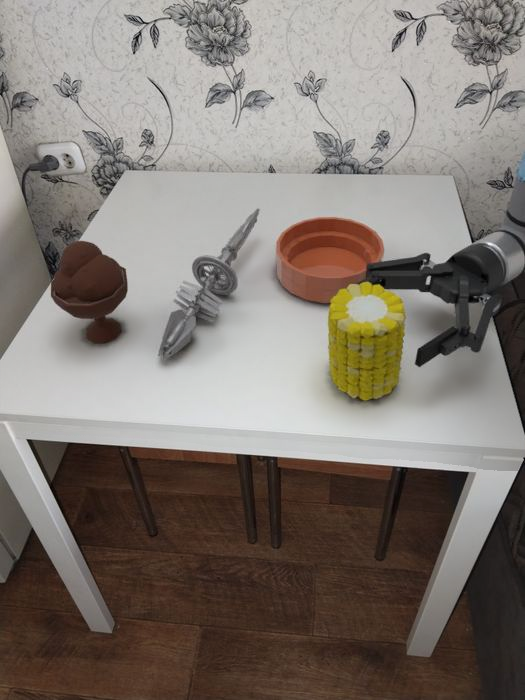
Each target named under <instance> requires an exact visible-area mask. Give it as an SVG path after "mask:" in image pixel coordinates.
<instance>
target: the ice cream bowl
mask: <svg viewBox="0 0 525 700" xmlns="http://www.w3.org/2000/svg"><path fill="white" fill-rule="evenodd" d="M59 265H60V268H58V270H57V271H55V273H54V276H53V279H52V280H51V281H50V297H51V300H53V302H54V303H55V305H56V306H58V307H59V308H60V309H61V310H63V311H64V312H66V313H67V314H69V315H70V316H72V317H74V318H77V319H82V320H93V321H92V322H91V323H89V325H87V327H86V329H85V335H86V336H85V337H86V340H88V341H89V342H91V343H92V344H107V343H110V342H112V341H114V340H116V339H117V338H118V337H119V336H120V334H122V332H123V331H122V324H121V322H119V321H117V320H116V319H115V318H113V317H107V316H108V315H111V314H112V313H113V312H114V311H115V310H116V309H117V308H119V306H120V304H121V303H122V302H123V301H124V300H125V299H126V298H127V295H128V290H129V289H128V288H129V285H128V282H129V281H128V276H127V268H125V267H124V266H121V265H120V264H119V262H118V261H117V260H115V258H113V257H111V256H108V255H107V254H103V251H102V249H101V248H100V247H98V245H96V244H95V243H94V242H90V241H86V240H77V241H74V242H71V243H70V244H68V245H67V246H66V247H65V248H64V249H63V251H62V253H61V257H60V260H59Z"/></svg>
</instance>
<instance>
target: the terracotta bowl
mask: <svg viewBox="0 0 525 700" xmlns="http://www.w3.org/2000/svg"><path fill="white" fill-rule="evenodd" d="M275 245H276V246H275V247H276V277H277V278H278V281H279V282H280V284H281V286H282V287H283V288H285V289H286V291H288V292H289V293H290V294H291V295H294V296H296V297H299V298H301V299H304V300H305V301H310V302H316V303H322V304H331V302H330V300H331V299H332V298H333V297H334V296H336V295H337V293H338V292H339V290H340V289H347V287H348V286H349V285H350V284H356V283H358V282H360V281H362V280H363V279H365V276H366V267H367V264H369V263H375V262H382V261H384V257H385V246H384V241H383V239H382V238H381V236H380V235H379V234H378V233H377V232H376V231H375V230H374V229H373V228H371V227H369V226H368V225H367V224H365V223H362V222H359V221H356V220H353V219H349V218H343V217H338V216H323V217H322V216H321V217H314V218H309V219H303V220H301V221H298V222H296V223H294V224H291V225H290V226H289V227H287V228H286V229H285V230H284V231H282V232H281V234H280V235H279V237H278V238H277V240H276V243H275Z"/></svg>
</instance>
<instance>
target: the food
mask: <svg viewBox="0 0 525 700" xmlns="http://www.w3.org/2000/svg"><path fill="white" fill-rule="evenodd" d="M330 302H331V303H330V304H329V307H328V316H327V327H328V334H327V335H328V336H327V338H328V345H327V349H328V360H329V362H328V363H329V365H328V366H329V373H330V377H331V378H332V383H333V384H334V385H335V386H336V387H338V388H337V390H338V391H341V392H343V393H346V394H347V395H348V396H350V397H351V399H356V398H358V399H360V400H362V401H367V402H368V401H369V400H371V399H374V400H378V399H380V398H382V397H383V396H386V395H388V394H391V393H392V390H393V389H394V387H395V386H396V385H397V384H398V383H399V382H400V380H399V377H400V371H401V370H402V366H401V365H402V364H401V361H402V356H403V354H404V353H403V350H404V342H405V340H404V337H405V335H406V333H405V326H406V324H405V320H406V318H407V317H406V314H405V313H406V311H405V310H406V309H405V307H404V301H403V299H402V298H401V297H400V296H399V295H398V294H395V292H393V291H390V290H386V289H384V288H383V287H382V286H381V285H373V286H372V284H371V283H369V282H363V283H361V284H360V285H357V284H350V285H349V286H348V287H347V289H340V290H339V292H338V293H337V295H336V296H334V297H333V298H332V299H331V300H330Z"/></svg>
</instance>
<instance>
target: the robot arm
mask: <svg viewBox="0 0 525 700" xmlns="http://www.w3.org/2000/svg"><path fill="white" fill-rule="evenodd" d="M515 173H516V176H515V179H514V182H513V183H514V184H513V187H512V191H511V195H510V199H509V202H508V206H507V209H506V211H505V215H504V217H503V222H502V225H501V226H500V227H499V228H498V229H496V230H494V231H492V232H491V233H489V234H487V235H485V236H483V237H482V238H480V239H478V240H475V241H474V242H472V243H471V244H470V245H467V246H465V247H464V248H462V249H461V250H458V251H457V252H455V253H454V254H452V255H451V256H450V257H449V258H448V259H446V261H445V262H440V263H435V261H432V260H431V256H432V255H431V253H429V252H423V253H420V254H418V255H416V256H412V257H411V256H410V257H404V258H397V259H391V260H383V261H382V262H375V263H369V264H367V267H366V276H365V279H363V280H362V281H360V282H358V283H356V284H357V285H360V284H361V283H363V282H369V283H371V284H372V286H373V285H381V286H382V287H383V288H384V290H412V291H413V290H415V291H419V292H420V293H430V294H431V295H433V296H434V297H437V298H439V299H441V300H442V301H443V302H444V303H446V304H447V305H449V304H453V305H454V314H455V326H454V325H452V326H451V327H450V328H448V329H446V330H445V331H443V332H442V333H440V334H438V335H437V336H435V337H433V338H432V339H431V340H429V341H427V342H426V343H424V344H423V345H421V346H420V347H418V348H417V351H416V356H415V361H414V365H415V366H416V367H418V368H421V367H423V366H424V365H425V364H427V363H428V362H429V361H432V360H433V359H435V358H436V357H438V356H439V355H440V354H441V355H442V356H444V357H447V356H449V355H451V354H452V353H453V352H455V351H457V350H458V349H460V348H464V347H467V348H470V351H471V352H473V353H480V352H481V350H482V346H483V343H484V340H485V337H486V335H487V332H488V328H489V325H490V322H491V319H492V318H493V317H494V316H496V315H497V314H498V313H499V311H500V307H501V304H502V300H503V295H502V294H499V293H495V291H497V290H498V289H499V288H501V287H503V286H505V285H506V284H507V283H509V282H511V281H513V280H514V279H516V278H517V277H518V276H520V275H522V274H523V273H525V151H524V152H523V154H522V157H521V160H520V163H519V166H518V168H517V169H516V172H515ZM428 277H430V279H429V284H428V283H427V280H428ZM492 293H494V294H493V295H491V294H492ZM478 303H481V304H480V308H481V315H480V317H479V320H478V323H477V327H476V329H475V332H472V331H471V327H472V326H471V325H470V310H469V309H470V306H469V305H470V304H478Z"/></svg>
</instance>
